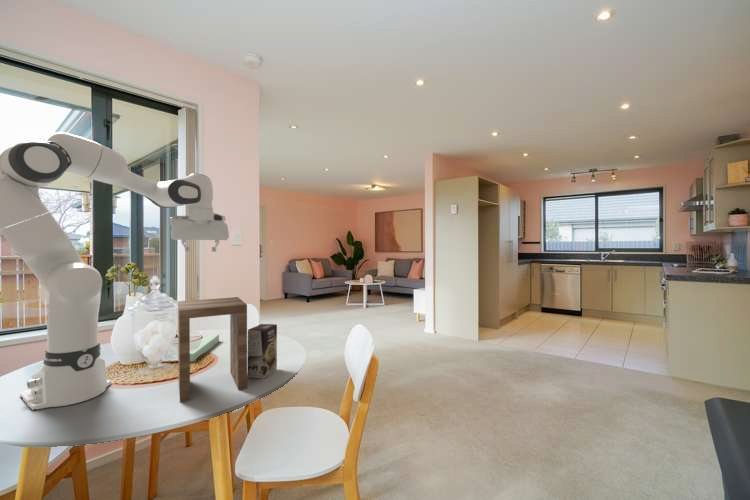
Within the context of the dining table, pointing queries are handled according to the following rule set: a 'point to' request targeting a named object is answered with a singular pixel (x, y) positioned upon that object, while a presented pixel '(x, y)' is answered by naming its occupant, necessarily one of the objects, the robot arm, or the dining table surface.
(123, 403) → the dining table surface
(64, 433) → the dining table surface
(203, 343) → the bar
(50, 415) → the dining table surface
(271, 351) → the coffee box
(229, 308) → the stand
